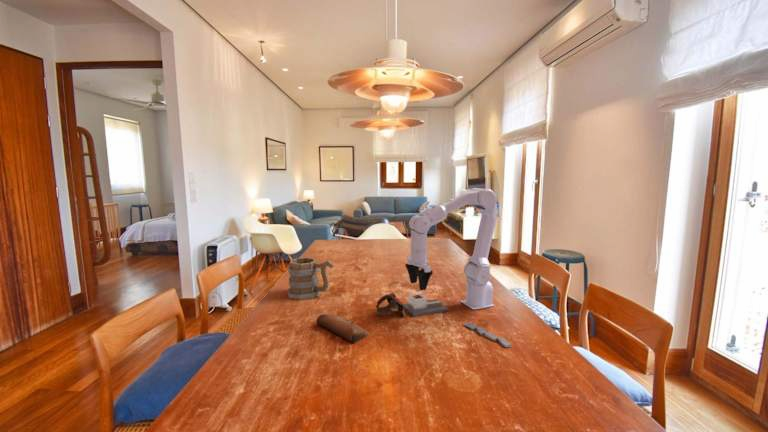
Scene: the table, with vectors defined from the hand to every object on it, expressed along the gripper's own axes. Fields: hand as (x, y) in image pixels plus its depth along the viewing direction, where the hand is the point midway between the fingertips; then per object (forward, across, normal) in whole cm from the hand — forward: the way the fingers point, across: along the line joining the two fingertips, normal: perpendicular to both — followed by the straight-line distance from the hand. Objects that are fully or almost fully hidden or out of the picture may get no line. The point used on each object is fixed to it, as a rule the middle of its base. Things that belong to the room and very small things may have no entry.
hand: (418, 286), depth 118 cm
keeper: (+9, 0, +3) cm, 9 cm away
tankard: (+9, -28, -34) cm, 45 cm away
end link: (+8, 0, 0) cm, 8 cm away
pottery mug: (+9, 0, -10) cm, 14 cm away
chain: (+9, +24, +12) cm, 28 cm away
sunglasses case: (+10, +6, -29) cm, 31 cm away
